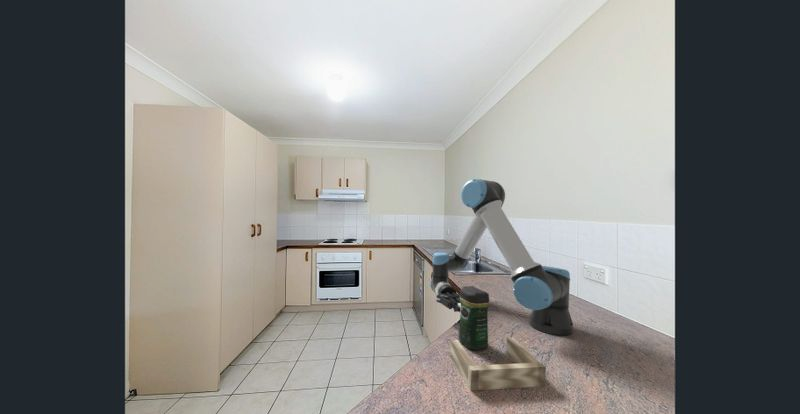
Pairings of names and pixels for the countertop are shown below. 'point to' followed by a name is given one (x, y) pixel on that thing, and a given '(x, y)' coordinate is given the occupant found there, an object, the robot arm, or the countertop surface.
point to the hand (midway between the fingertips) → (465, 313)
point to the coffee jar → (474, 318)
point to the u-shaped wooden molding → (500, 369)
